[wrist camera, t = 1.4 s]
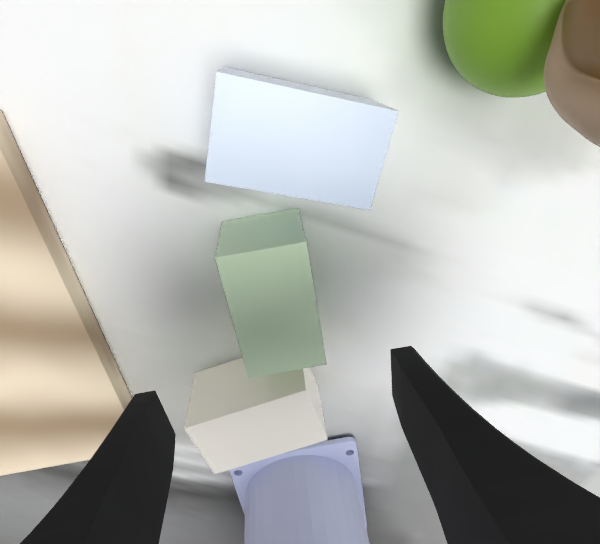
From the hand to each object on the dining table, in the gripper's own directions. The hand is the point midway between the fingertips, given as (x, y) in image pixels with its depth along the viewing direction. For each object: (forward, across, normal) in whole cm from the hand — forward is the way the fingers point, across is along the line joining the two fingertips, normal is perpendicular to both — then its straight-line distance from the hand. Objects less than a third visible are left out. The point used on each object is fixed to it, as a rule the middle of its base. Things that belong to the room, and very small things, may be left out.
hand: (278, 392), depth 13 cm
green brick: (+9, 0, +1) cm, 9 cm away
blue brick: (+9, -2, -6) cm, 11 cm away
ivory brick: (+8, +2, +8) cm, 11 cm away
